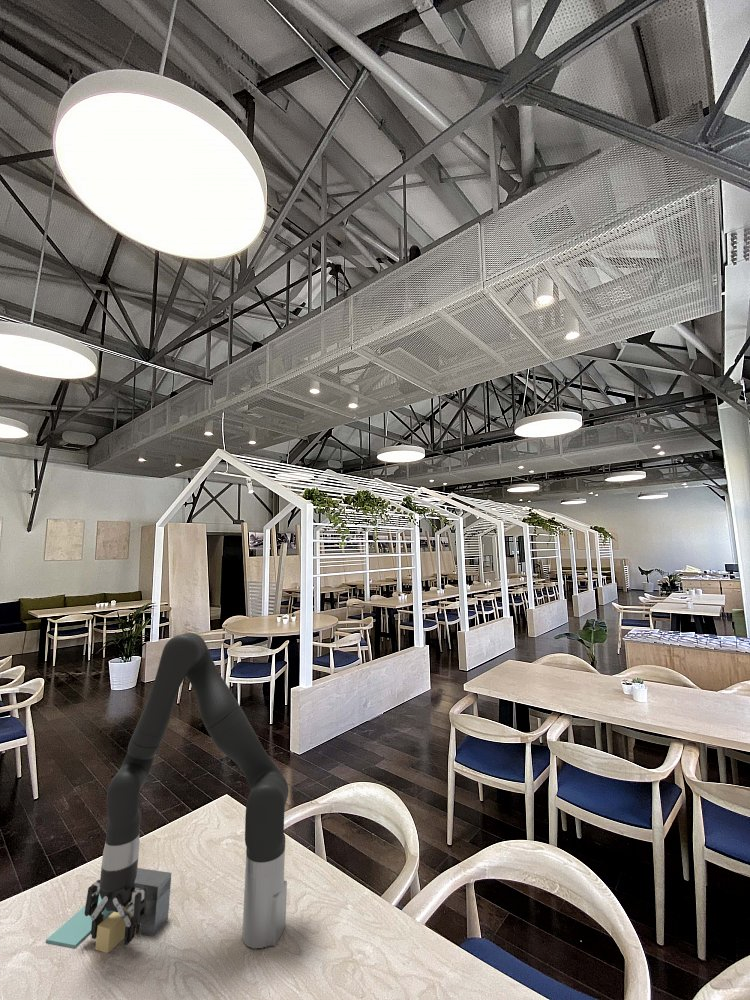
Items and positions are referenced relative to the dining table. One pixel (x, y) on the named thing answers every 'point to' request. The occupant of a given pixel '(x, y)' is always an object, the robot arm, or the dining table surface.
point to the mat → (73, 930)
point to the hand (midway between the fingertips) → (112, 939)
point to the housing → (152, 899)
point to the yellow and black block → (111, 931)
